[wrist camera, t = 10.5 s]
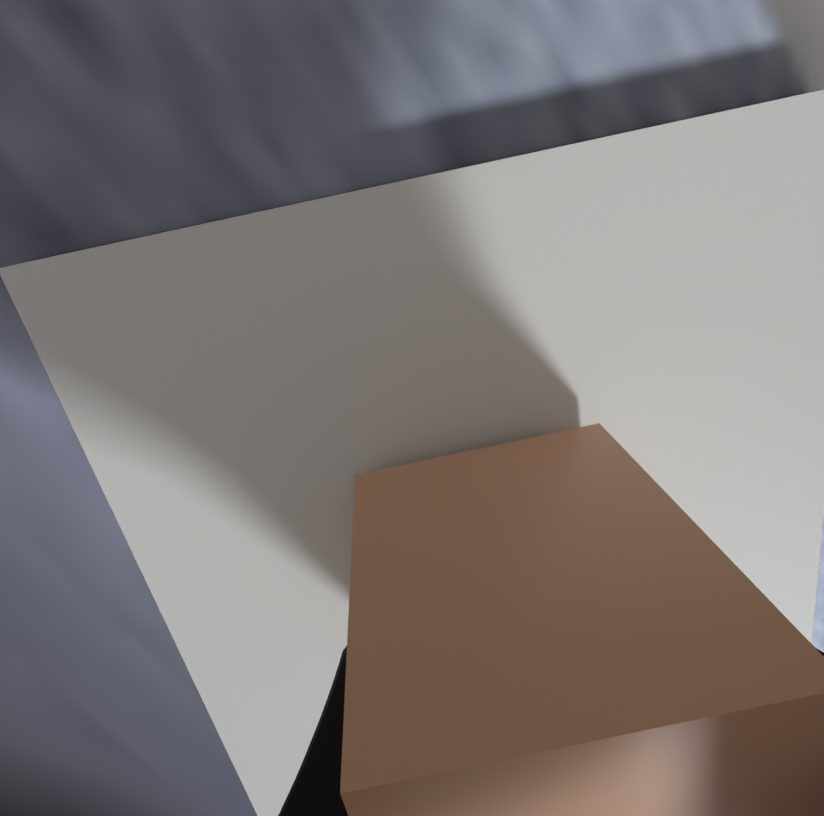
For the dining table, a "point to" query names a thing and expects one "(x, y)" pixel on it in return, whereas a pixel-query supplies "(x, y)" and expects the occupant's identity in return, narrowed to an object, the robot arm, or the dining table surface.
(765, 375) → the white board
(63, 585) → the dining table surface
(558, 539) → the tan rectangular block
